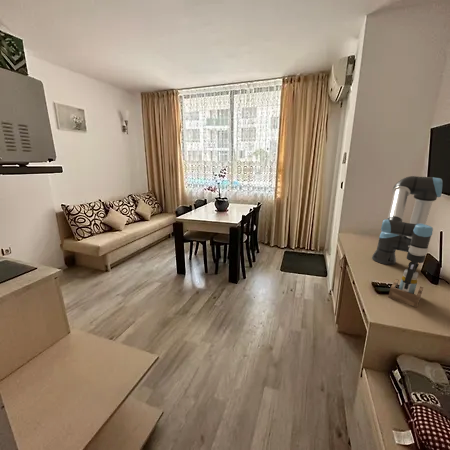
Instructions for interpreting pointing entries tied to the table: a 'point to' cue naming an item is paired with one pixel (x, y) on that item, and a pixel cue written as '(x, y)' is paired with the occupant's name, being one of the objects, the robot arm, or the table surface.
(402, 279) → the bottle
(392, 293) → the u rest
